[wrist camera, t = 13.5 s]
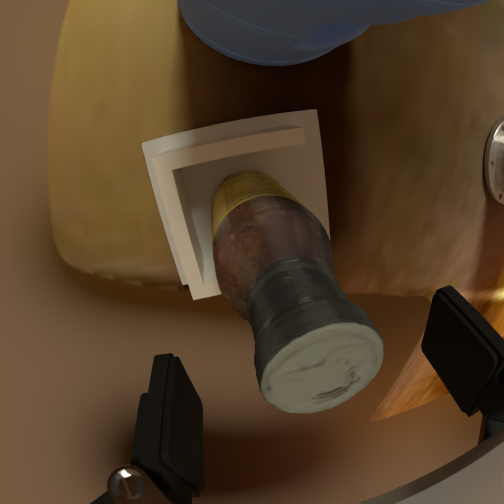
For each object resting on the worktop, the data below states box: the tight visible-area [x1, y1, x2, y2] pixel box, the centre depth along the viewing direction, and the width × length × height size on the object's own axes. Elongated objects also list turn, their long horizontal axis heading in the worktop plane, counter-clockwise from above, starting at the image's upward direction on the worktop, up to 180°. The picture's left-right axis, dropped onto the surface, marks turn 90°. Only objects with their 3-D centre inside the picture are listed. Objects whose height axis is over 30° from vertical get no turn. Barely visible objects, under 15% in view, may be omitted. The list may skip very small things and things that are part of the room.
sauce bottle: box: [211, 171, 384, 413], centre depth 17 cm, size 7×6×20 cm
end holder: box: [142, 109, 330, 300], centre depth 24 cm, size 15×14×6 cm
